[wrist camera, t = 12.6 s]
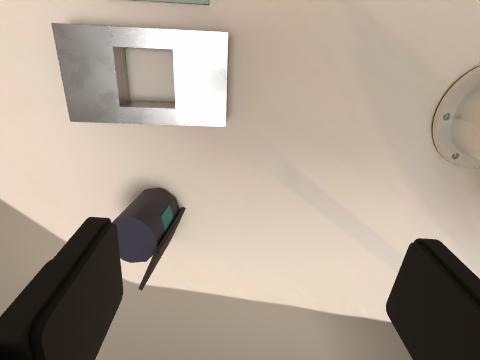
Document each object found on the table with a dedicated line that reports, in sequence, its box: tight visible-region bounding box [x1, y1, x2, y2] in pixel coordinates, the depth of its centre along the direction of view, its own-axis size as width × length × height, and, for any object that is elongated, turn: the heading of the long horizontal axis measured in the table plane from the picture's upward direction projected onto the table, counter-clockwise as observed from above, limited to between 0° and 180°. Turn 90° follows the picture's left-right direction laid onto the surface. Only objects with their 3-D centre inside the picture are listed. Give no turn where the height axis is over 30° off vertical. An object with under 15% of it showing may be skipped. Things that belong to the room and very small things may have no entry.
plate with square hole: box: [52, 23, 228, 127], centre depth 31 cm, size 16×9×4 cm, turn 87°
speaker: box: [112, 188, 186, 290], centre depth 35 cm, size 8×6×10 cm
